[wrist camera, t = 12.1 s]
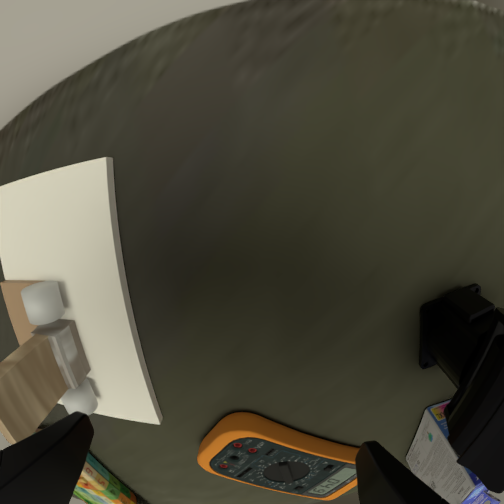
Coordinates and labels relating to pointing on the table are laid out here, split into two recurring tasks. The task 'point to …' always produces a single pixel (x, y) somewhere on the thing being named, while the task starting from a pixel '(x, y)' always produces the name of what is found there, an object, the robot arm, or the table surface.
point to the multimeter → (277, 457)
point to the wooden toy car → (39, 377)
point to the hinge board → (76, 282)
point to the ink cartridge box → (443, 462)
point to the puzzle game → (100, 485)
